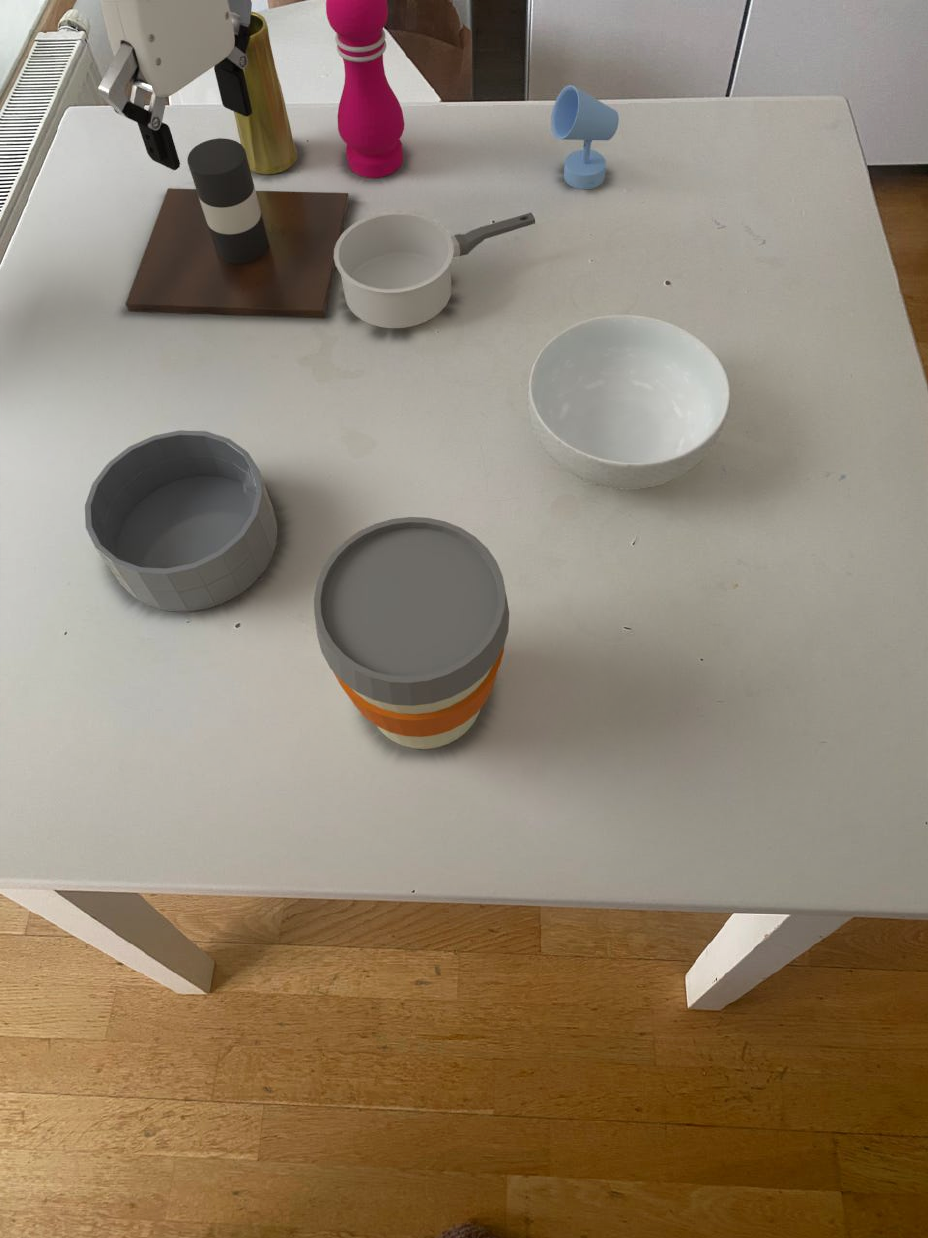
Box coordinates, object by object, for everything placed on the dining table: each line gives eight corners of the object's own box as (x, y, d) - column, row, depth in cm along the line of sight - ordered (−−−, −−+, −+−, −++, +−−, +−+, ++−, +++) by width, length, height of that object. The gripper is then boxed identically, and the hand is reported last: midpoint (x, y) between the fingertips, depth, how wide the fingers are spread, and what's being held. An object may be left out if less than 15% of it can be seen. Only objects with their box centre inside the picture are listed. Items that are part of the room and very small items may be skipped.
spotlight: (558, 197, 97) (618, 183, 98) (565, 106, 88) (630, 92, 89) (543, 170, 99) (601, 157, 100) (548, 78, 90) (611, 65, 91)
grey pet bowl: (93, 607, 73) (62, 568, 68) (136, 471, 80) (111, 426, 75) (260, 616, 73) (242, 577, 67) (290, 478, 79) (275, 433, 74)
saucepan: (551, 299, 89) (555, 252, 84) (359, 350, 87) (351, 305, 82) (511, 228, 95) (513, 180, 90) (329, 274, 92) (320, 227, 87)
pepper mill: (334, 151, 102) (302, -49, 84) (393, 134, 103) (373, -66, 86) (356, 188, 99) (327, -12, 81) (417, 170, 100) (401, -31, 82)
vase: (264, 182, 99) (232, 49, 87) (233, 157, 102) (197, 23, 89) (308, 158, 101) (283, 24, 89) (277, 134, 104) (248, 0, 91)
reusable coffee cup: (503, 620, 72) (505, 510, 59) (510, 769, 66) (515, 684, 53) (347, 625, 72) (315, 516, 59) (339, 775, 66) (302, 690, 53)
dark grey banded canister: (210, 263, 92) (181, 173, 83) (221, 227, 94) (194, 137, 86) (263, 264, 92) (239, 175, 83) (273, 229, 94) (250, 138, 85)
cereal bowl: (635, 550, 75) (648, 499, 69) (487, 447, 80) (486, 392, 74) (750, 432, 80) (772, 375, 74) (604, 344, 86) (613, 284, 80)
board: (128, 311, 90) (125, 303, 89) (170, 195, 99) (167, 187, 98) (324, 318, 89) (322, 310, 88) (349, 200, 98) (348, 192, 97)
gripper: (187, -138, 72) (234, 78, 87) (23, -48, 65) (105, 170, 80) (258, -113, 70) (294, 104, 85) (96, -18, 63) (167, 201, 78)
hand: (202, 136), depth 82 cm, fingers open, 9 cm apart
